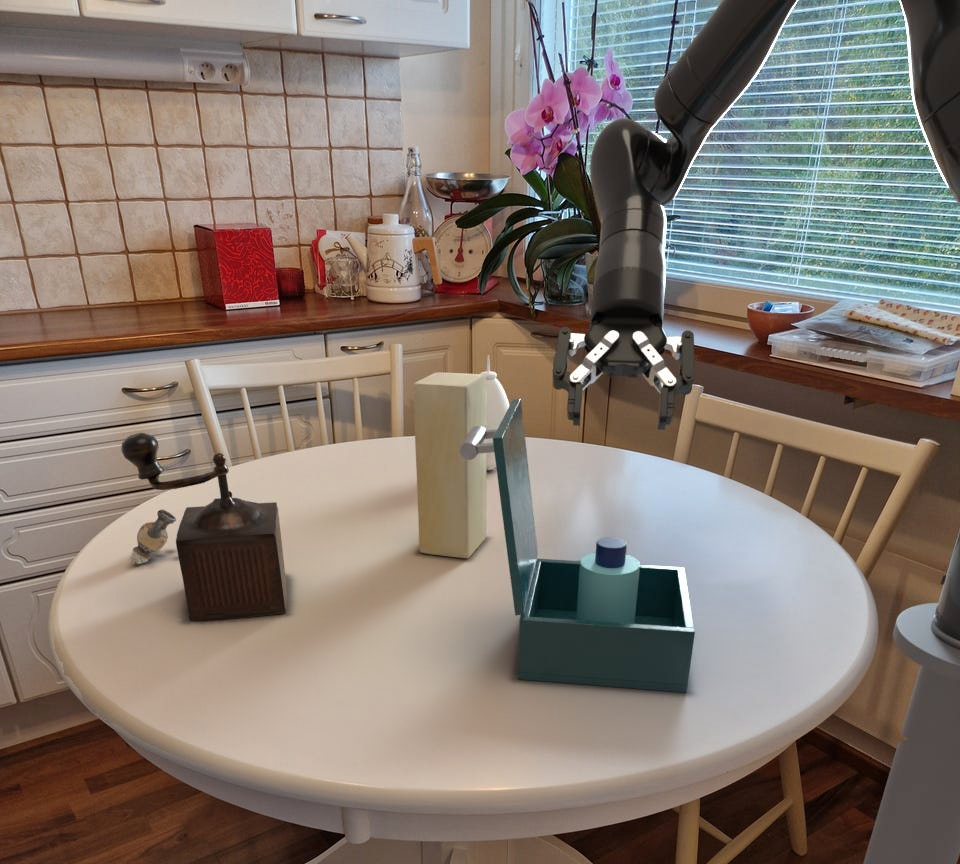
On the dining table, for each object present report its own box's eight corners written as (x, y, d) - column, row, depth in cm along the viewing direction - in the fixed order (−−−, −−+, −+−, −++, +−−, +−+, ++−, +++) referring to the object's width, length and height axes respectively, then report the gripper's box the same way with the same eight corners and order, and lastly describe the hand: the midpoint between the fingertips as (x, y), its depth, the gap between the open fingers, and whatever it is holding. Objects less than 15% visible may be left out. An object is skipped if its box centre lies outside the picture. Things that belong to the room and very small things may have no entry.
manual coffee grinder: (288, 574, 101) (270, 422, 92) (287, 614, 91) (268, 450, 83) (151, 584, 98) (121, 429, 90) (136, 627, 89) (101, 458, 80)
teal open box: (677, 621, 90) (684, 567, 87) (686, 692, 78) (695, 632, 75) (532, 611, 92) (534, 558, 89) (517, 679, 80) (519, 619, 77)
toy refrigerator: (434, 531, 114) (431, 370, 104) (487, 537, 112) (488, 374, 102) (412, 552, 107) (406, 382, 97) (468, 560, 105) (467, 387, 95)
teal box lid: (520, 398, 82) (474, 403, 83) (502, 437, 69) (447, 442, 70) (537, 553, 89) (495, 556, 90) (523, 614, 76) (474, 617, 77)
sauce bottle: (490, 459, 144) (491, 348, 135) (521, 469, 138) (524, 355, 130) (454, 467, 140) (452, 354, 131) (483, 478, 134) (484, 361, 126)
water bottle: (631, 635, 86) (641, 533, 81) (631, 662, 81) (642, 555, 76) (575, 631, 87) (582, 530, 81) (573, 658, 82) (580, 552, 76)
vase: (185, 548, 108) (177, 503, 105) (178, 565, 103) (170, 518, 100) (140, 551, 107) (131, 505, 104) (132, 568, 102) (122, 521, 100)
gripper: (561, 262, 87) (547, 400, 83) (702, 265, 85) (696, 406, 81) (561, 310, 94) (549, 439, 90) (692, 314, 92) (686, 446, 88)
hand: (619, 423), depth 85 cm, fingers open, 8 cm apart
